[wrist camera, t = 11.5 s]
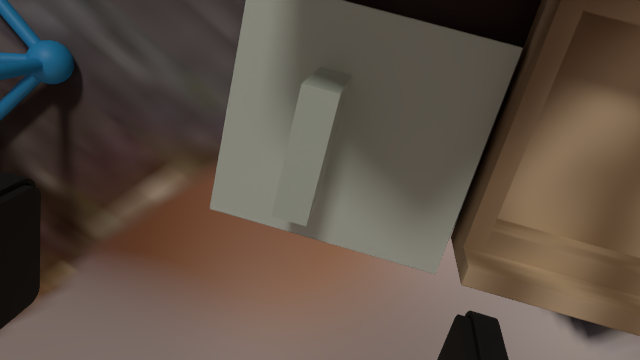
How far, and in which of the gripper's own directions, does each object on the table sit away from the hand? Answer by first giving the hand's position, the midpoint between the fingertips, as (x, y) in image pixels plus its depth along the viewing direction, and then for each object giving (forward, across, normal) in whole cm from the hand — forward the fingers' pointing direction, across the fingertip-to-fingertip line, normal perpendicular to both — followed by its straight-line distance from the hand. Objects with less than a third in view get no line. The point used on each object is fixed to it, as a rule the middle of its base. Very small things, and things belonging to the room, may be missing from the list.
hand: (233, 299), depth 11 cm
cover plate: (+17, -1, +1) cm, 17 cm away
